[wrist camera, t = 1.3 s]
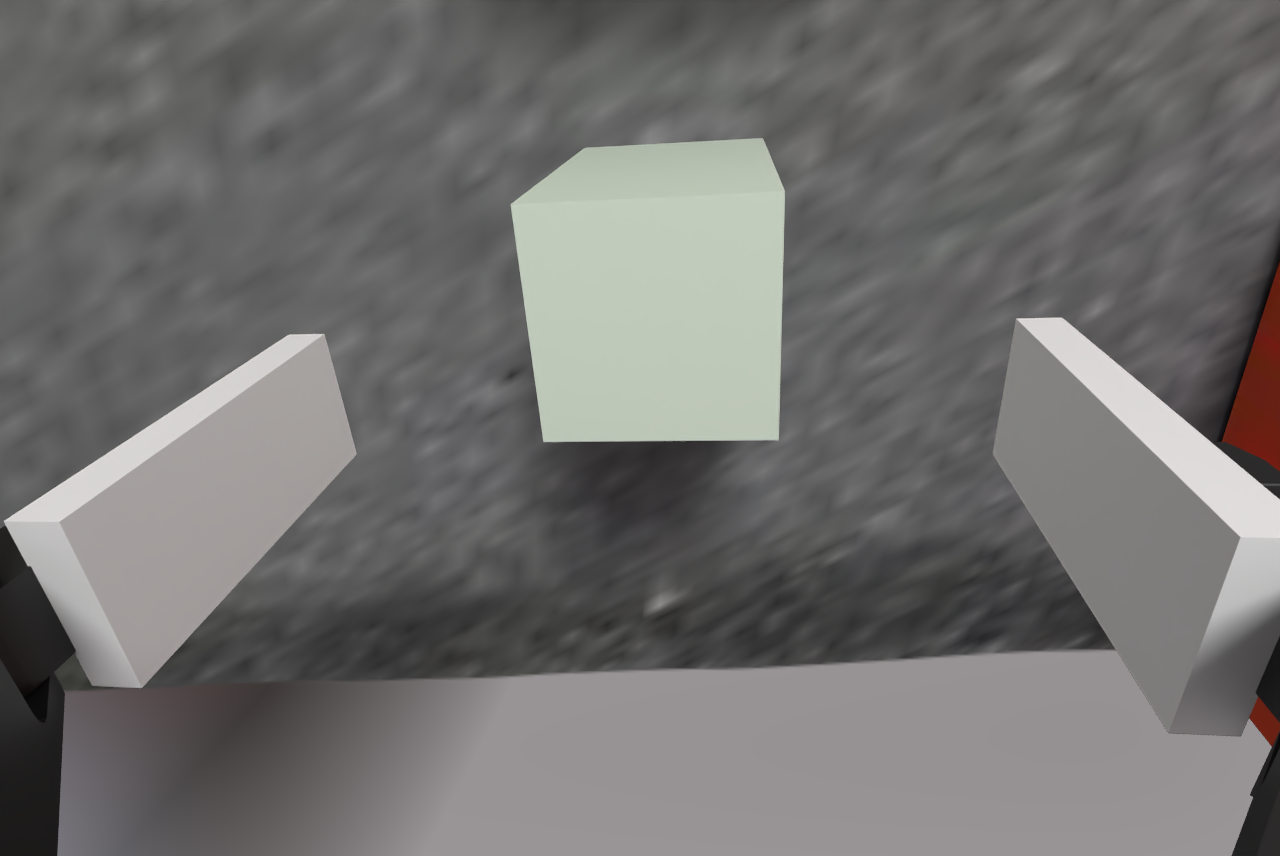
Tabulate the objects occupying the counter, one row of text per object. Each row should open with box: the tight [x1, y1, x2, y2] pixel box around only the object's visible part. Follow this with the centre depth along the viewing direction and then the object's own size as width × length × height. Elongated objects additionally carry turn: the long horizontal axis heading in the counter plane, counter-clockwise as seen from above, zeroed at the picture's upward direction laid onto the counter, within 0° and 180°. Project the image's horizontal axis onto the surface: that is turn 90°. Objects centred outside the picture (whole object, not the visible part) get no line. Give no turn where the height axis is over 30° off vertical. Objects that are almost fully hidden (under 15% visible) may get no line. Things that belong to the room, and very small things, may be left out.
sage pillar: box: [511, 138, 785, 442], centre depth 22 cm, size 6×6×10 cm
